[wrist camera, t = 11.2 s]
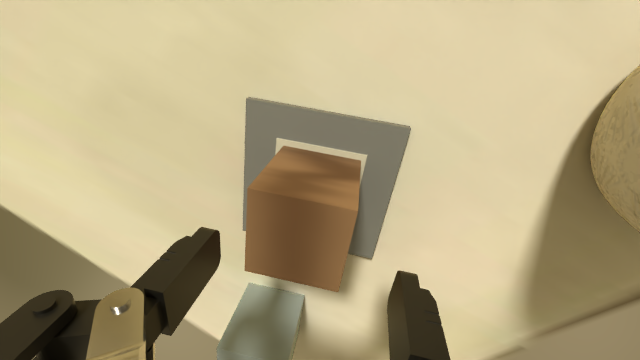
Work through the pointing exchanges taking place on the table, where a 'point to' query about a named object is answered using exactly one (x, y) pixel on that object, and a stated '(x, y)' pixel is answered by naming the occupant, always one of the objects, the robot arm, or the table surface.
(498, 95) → the table surface
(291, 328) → the blue grey block
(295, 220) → the walnut block
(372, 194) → the pad
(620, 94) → the planter
